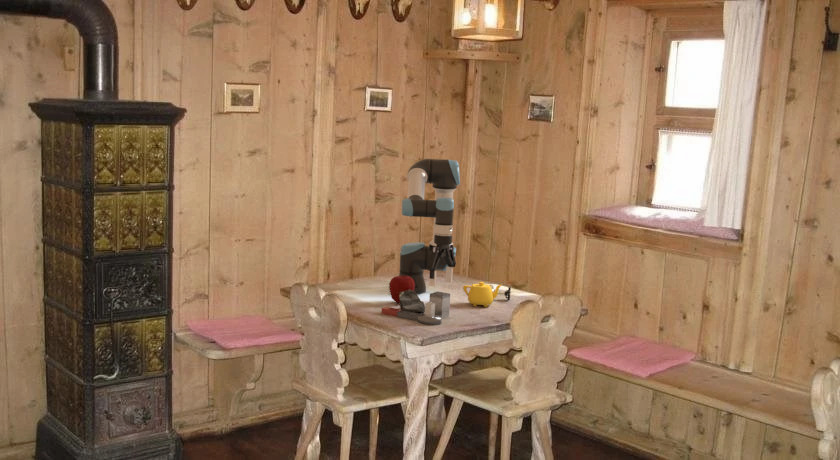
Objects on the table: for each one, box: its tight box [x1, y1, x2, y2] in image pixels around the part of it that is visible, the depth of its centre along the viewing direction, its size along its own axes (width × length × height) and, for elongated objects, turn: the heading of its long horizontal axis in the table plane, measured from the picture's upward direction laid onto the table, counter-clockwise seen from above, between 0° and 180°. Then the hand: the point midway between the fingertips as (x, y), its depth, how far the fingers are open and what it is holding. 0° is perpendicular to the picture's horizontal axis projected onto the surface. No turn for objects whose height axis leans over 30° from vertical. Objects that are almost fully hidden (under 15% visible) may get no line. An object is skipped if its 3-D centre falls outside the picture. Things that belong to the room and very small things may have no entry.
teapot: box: [462, 281, 503, 308], centre depth 387 cm, size 18×11×11 cm, turn 87°
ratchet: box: [380, 301, 443, 326], centre depth 356 cm, size 28×10×8 cm, turn 58°
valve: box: [489, 284, 512, 301], centre depth 401 cm, size 7×7×12 cm
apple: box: [388, 275, 415, 305], centre depth 383 cm, size 12×12×13 cm
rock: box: [399, 290, 425, 314], centre depth 368 cm, size 14×11×10 cm
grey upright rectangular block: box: [428, 291, 451, 320], centre depth 361 cm, size 6×6×10 cm
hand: (440, 284), depth 360 cm, fingers open, 13 cm apart
